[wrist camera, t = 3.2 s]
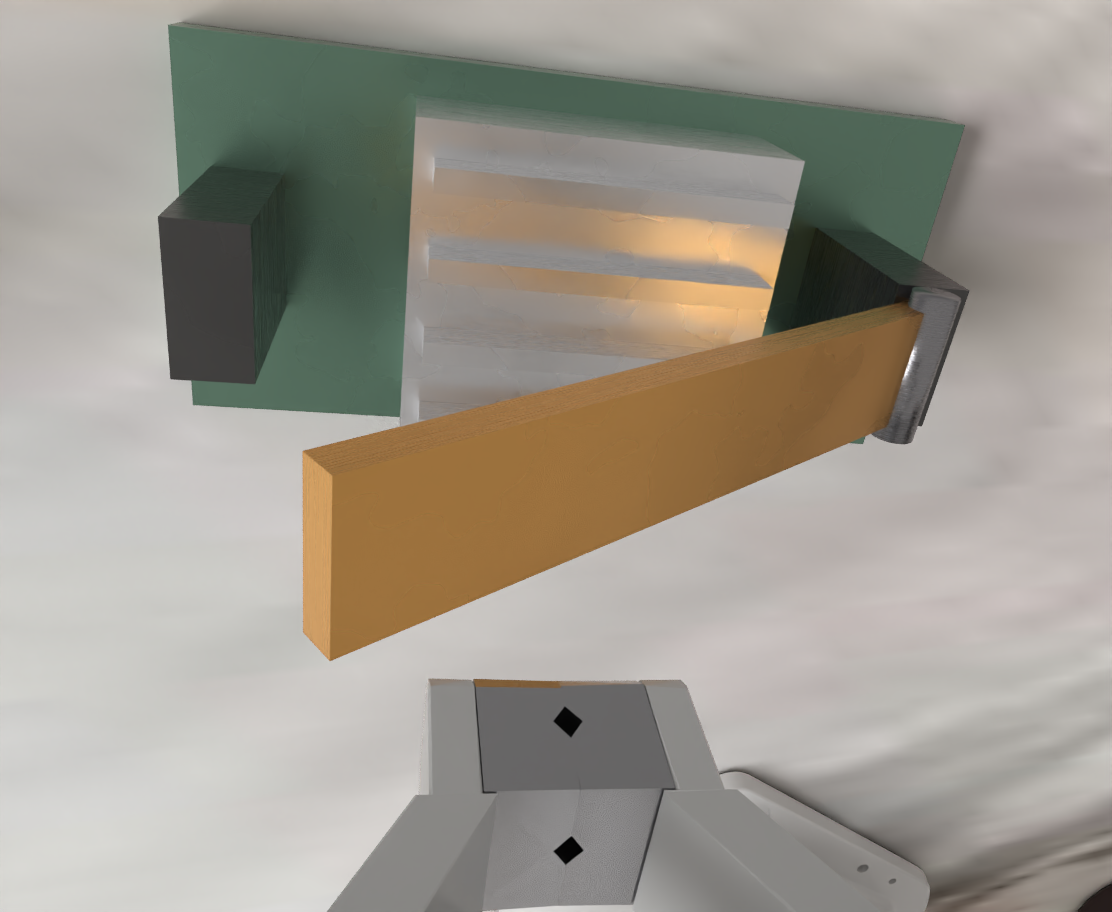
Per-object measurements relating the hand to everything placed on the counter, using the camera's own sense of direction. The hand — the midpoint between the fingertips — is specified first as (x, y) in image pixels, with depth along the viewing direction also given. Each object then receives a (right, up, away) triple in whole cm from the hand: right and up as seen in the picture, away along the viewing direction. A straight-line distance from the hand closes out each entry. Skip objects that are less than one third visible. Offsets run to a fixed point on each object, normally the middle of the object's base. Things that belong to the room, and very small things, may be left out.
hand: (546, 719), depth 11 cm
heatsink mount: (0, +10, +19) cm, 21 cm away
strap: (+3, +4, +8) cm, 10 cm away
